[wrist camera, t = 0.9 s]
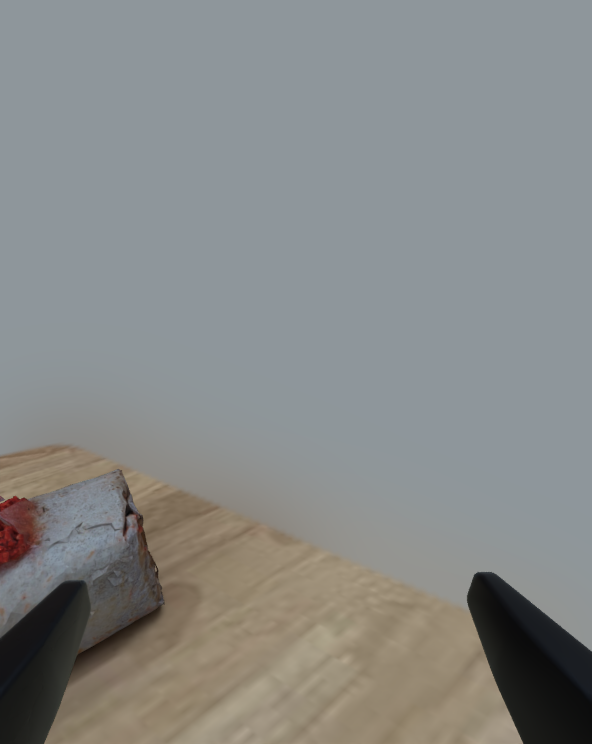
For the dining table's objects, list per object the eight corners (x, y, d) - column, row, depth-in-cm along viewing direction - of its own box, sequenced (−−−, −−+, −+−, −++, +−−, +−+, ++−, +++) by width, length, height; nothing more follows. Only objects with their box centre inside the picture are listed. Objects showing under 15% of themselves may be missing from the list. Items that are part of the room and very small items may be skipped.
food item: (-147, 812, 15) (-330, 713, 11) (-103, 637, 21) (-209, 522, 16) (173, 619, 22) (148, 509, 18) (140, 528, 28) (115, 426, 23)
